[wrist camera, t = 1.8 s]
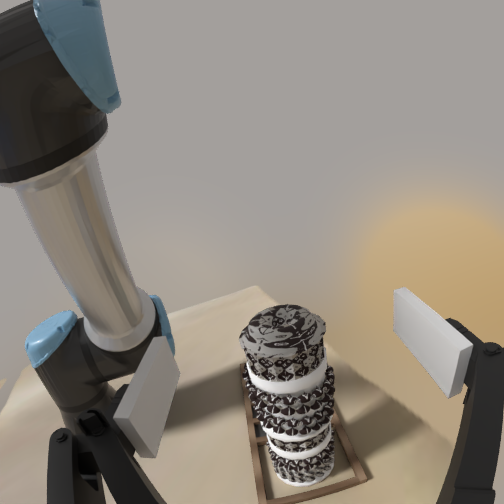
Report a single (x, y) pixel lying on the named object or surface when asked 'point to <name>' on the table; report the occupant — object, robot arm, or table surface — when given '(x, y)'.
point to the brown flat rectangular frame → (260, 438)
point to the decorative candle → (291, 391)
